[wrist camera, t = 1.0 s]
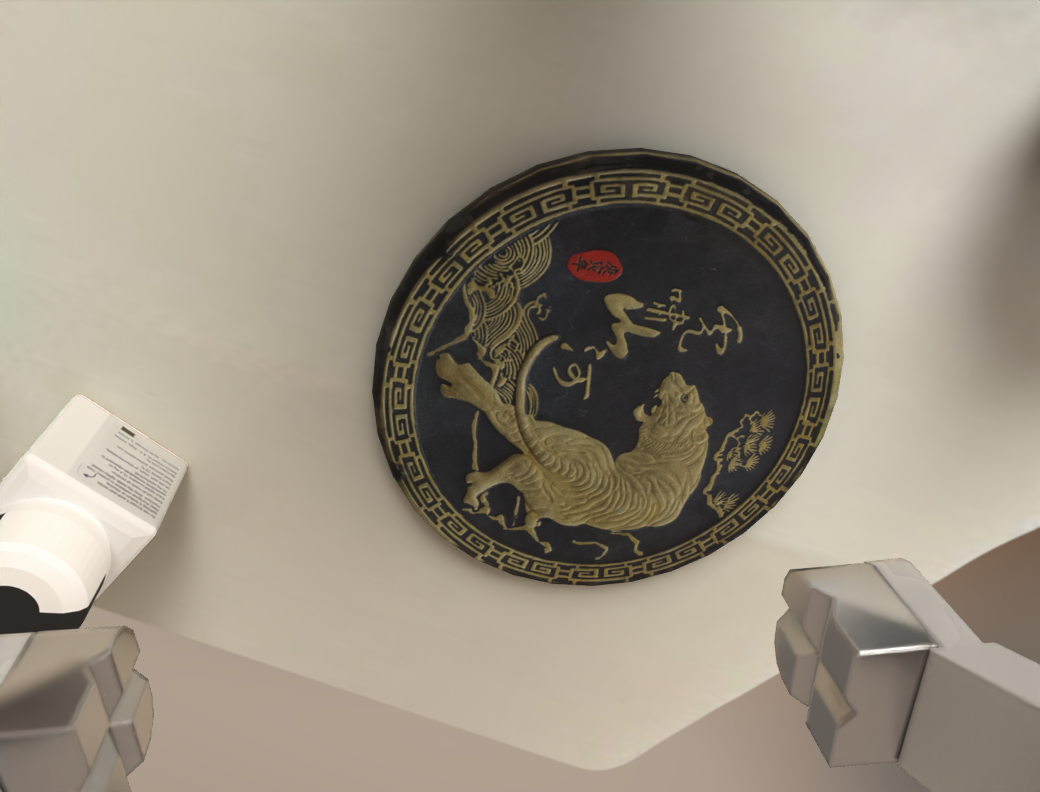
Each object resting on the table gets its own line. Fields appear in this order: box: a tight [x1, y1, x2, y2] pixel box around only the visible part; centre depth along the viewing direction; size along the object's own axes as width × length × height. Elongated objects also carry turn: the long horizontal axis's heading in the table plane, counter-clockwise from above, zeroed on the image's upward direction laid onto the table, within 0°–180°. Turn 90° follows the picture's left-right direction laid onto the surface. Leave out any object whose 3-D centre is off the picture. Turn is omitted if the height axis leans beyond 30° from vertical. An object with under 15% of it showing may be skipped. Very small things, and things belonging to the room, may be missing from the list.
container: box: [0, 394, 188, 635], centre depth 45 cm, size 8×8×13 cm
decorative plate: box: [372, 148, 844, 586], centre depth 52 cm, size 30×2×30 cm
